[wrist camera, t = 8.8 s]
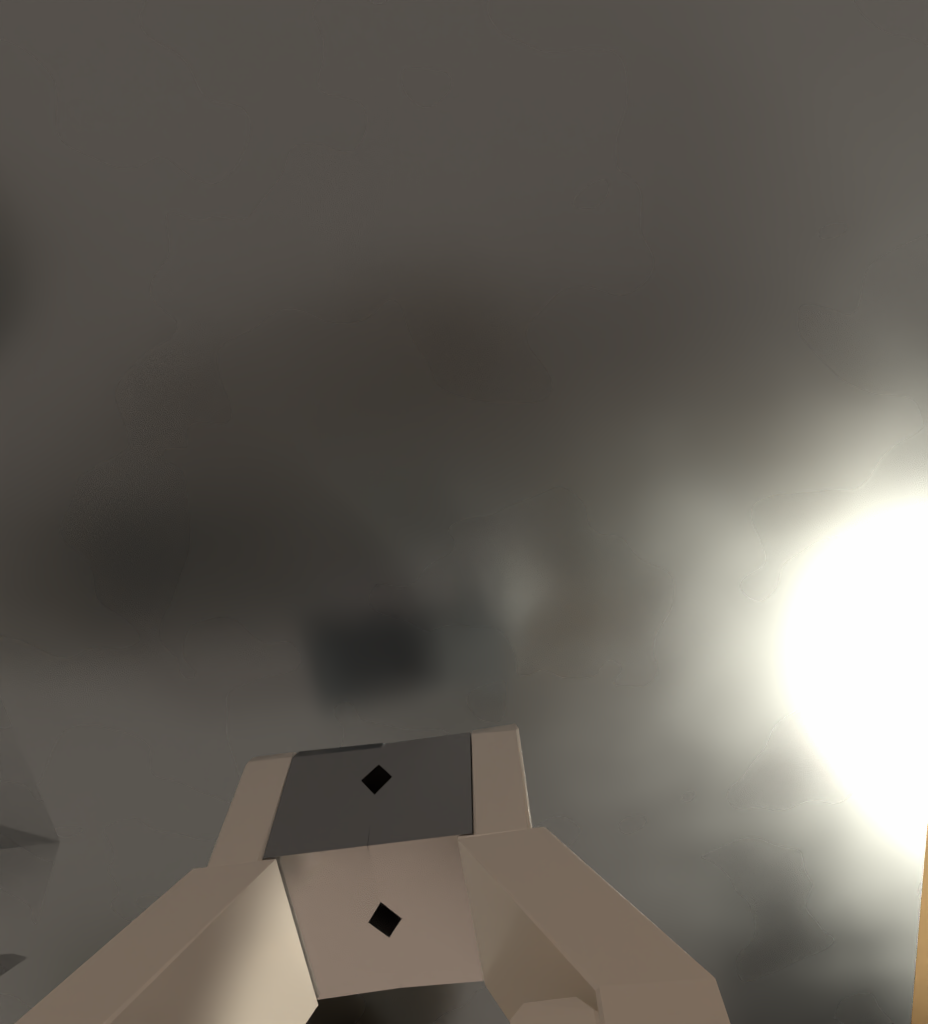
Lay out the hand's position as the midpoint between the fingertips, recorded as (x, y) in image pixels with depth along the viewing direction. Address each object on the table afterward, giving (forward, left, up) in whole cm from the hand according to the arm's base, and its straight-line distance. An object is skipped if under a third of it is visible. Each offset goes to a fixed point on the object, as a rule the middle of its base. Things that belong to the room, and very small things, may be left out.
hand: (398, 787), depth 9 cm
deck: (+4, 0, -4) cm, 6 cm away
